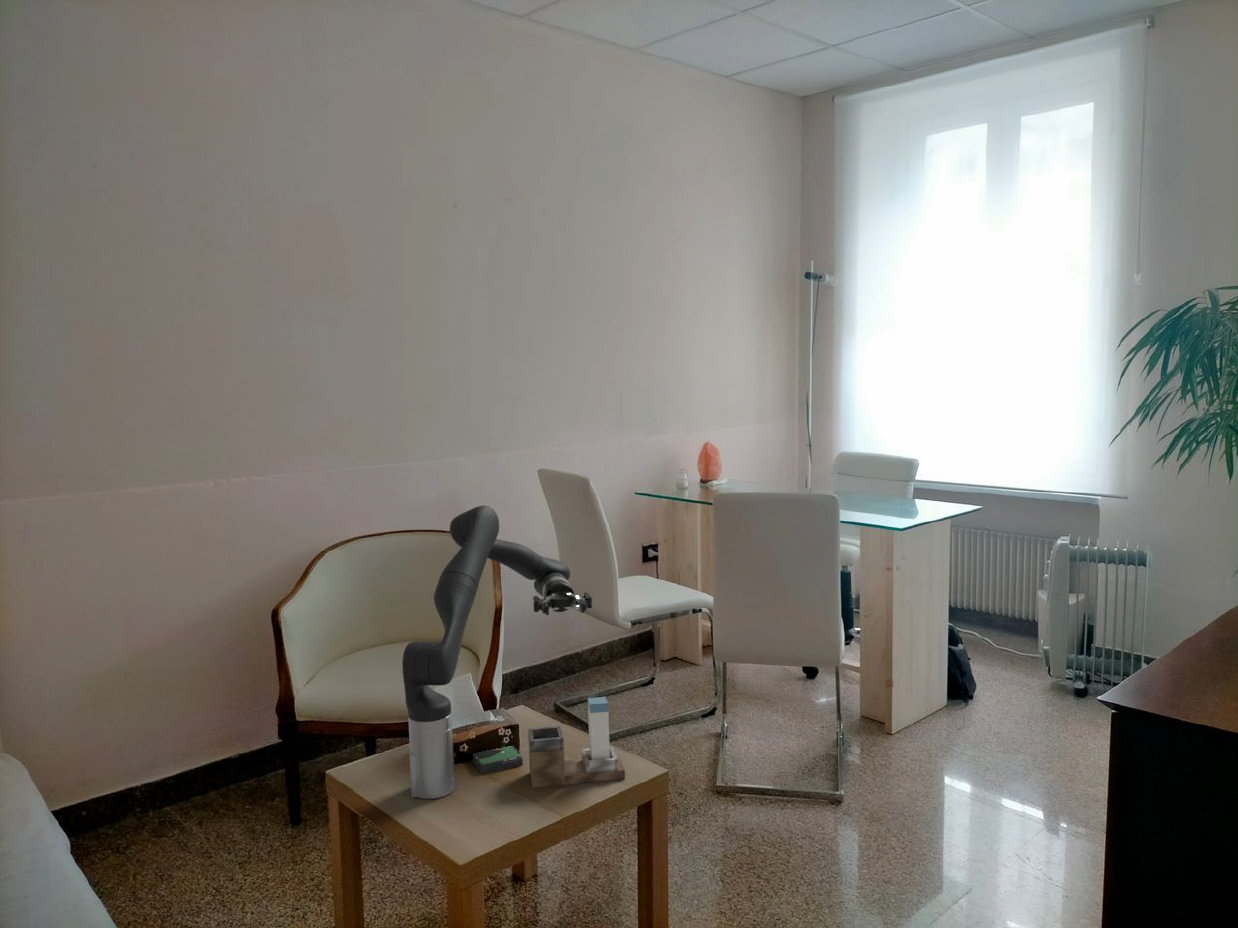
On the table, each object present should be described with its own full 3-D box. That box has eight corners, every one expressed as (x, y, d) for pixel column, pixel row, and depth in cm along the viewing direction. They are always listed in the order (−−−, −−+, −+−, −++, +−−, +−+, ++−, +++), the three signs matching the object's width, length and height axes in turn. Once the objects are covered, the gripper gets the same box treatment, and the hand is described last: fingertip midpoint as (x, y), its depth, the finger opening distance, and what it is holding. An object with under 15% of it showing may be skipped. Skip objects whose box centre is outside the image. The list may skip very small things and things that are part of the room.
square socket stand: (532, 787, 205) (530, 741, 204) (529, 772, 213) (528, 727, 212) (625, 778, 208) (623, 733, 207) (619, 763, 216) (617, 719, 215)
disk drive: (463, 753, 226) (481, 775, 213) (463, 741, 226) (480, 764, 213) (504, 744, 231) (524, 766, 217) (504, 733, 230) (523, 754, 217)
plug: (592, 769, 209) (590, 704, 207) (589, 761, 213) (587, 698, 211) (610, 767, 210) (608, 702, 208) (607, 760, 214) (605, 696, 212)
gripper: (529, 581, 237) (534, 596, 221) (585, 577, 239) (594, 592, 224) (530, 609, 238) (536, 627, 222) (586, 605, 240) (595, 622, 224)
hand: (565, 609), depth 223 cm, fingers open, 8 cm apart
